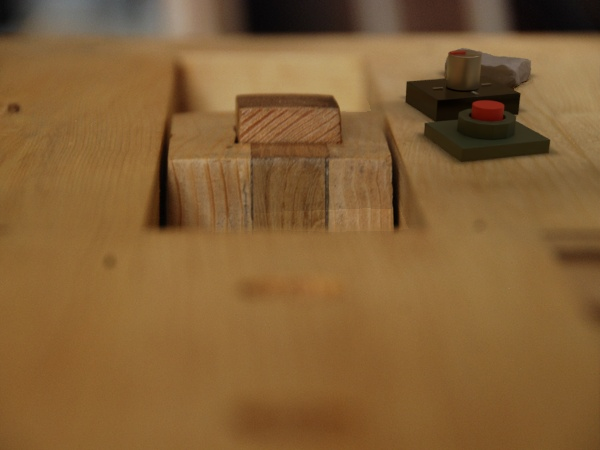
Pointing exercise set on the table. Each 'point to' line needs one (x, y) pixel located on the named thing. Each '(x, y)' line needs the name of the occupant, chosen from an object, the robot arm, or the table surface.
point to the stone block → (503, 68)
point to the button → (487, 110)
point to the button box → (485, 137)
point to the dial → (463, 70)
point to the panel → (457, 97)
